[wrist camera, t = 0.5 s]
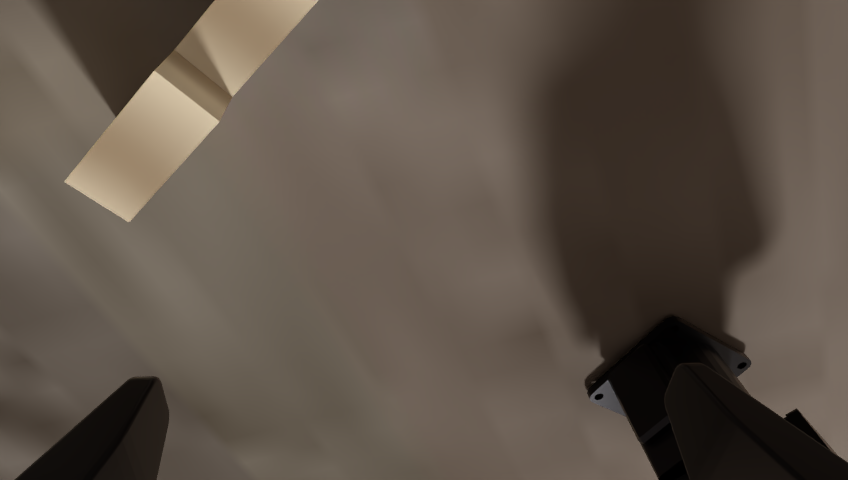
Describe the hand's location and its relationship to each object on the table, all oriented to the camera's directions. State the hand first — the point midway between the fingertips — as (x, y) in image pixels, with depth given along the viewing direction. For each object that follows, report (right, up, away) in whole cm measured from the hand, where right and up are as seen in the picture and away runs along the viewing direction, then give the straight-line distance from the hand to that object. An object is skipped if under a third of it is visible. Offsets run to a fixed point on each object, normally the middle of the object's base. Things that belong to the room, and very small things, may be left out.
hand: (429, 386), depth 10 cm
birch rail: (-5, +10, +8) cm, 14 cm away
